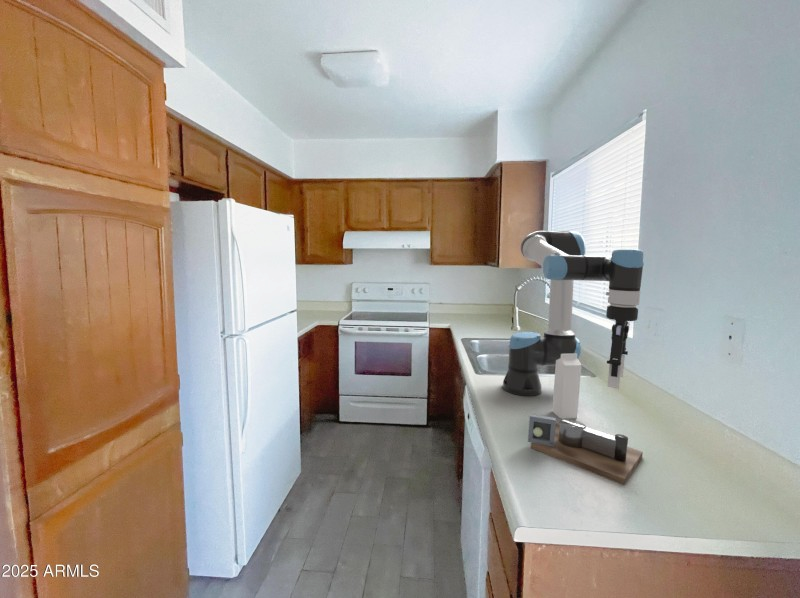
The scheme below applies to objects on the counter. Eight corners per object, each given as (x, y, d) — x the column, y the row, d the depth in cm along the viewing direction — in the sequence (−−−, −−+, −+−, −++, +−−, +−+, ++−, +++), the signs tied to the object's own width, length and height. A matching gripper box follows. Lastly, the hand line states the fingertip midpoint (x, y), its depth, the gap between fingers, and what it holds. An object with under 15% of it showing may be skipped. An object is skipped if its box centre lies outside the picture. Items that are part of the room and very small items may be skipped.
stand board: (556, 427, 122) (556, 422, 122) (642, 457, 105) (642, 450, 105) (530, 447, 109) (531, 441, 109) (624, 484, 92) (624, 477, 92)
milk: (552, 411, 134) (555, 351, 132) (568, 411, 135) (572, 351, 132) (560, 419, 128) (565, 356, 126) (577, 418, 129) (582, 355, 126)
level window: (528, 439, 111) (529, 413, 110) (553, 444, 108) (555, 418, 107) (527, 443, 108) (529, 417, 107) (553, 448, 106) (555, 422, 105)
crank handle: (554, 440, 110) (555, 421, 109) (564, 432, 115) (565, 414, 114) (622, 465, 97) (624, 443, 97) (629, 455, 102) (631, 434, 102)
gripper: (611, 299, 116) (605, 368, 119) (601, 308, 97) (594, 390, 100) (640, 302, 112) (633, 373, 115) (636, 311, 93) (627, 397, 96)
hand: (615, 381), depth 107 cm, fingers open, 11 cm apart
